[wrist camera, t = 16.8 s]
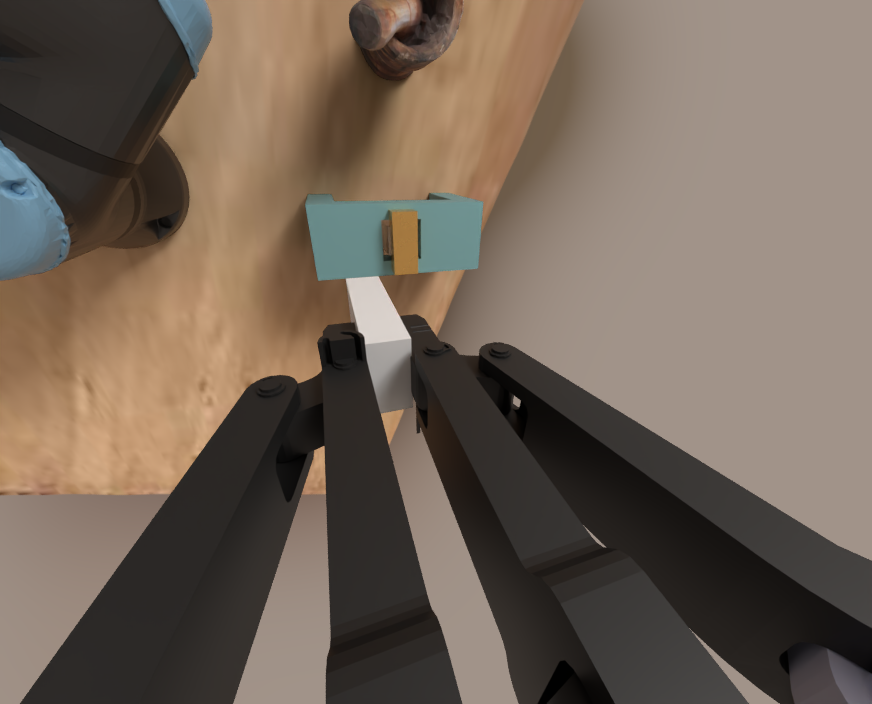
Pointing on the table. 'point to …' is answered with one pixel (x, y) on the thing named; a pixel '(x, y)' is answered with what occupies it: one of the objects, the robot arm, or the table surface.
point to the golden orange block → (401, 240)
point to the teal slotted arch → (362, 234)
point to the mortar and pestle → (404, 33)
